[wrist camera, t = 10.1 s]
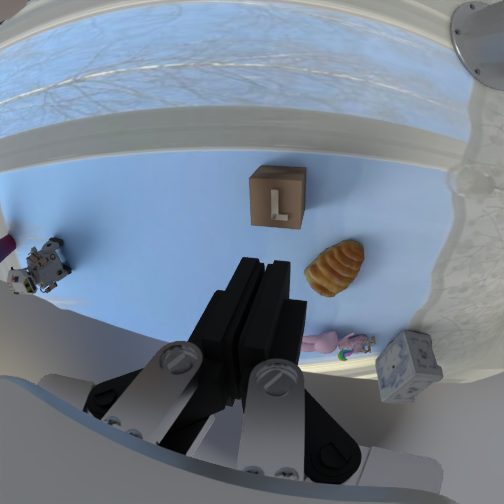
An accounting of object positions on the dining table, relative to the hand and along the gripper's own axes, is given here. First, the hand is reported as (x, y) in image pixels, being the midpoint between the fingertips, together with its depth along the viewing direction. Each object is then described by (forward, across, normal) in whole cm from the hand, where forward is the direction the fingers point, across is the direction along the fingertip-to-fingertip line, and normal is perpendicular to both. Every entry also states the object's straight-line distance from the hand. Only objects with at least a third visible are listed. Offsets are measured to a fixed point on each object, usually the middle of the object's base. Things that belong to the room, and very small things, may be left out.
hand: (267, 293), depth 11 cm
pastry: (+30, -4, +17) cm, 34 cm away
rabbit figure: (+29, -6, +32) cm, 44 cm away
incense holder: (+29, -20, +34) cm, 49 cm away
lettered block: (+29, +4, +6) cm, 30 cm away
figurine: (+29, +57, +22) cm, 68 cm away
